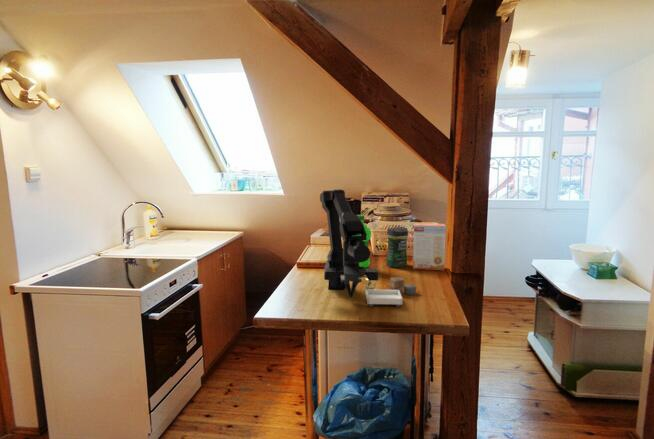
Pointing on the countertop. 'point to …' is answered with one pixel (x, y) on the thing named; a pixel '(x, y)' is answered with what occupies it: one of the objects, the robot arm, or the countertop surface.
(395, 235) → the coffee jar
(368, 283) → the small wooden cylinder
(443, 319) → the countertop surface
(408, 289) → the grey small block
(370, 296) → the white shallow tray
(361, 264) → the plastic bottle
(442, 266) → the cracker box
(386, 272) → the countertop surface
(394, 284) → the walnut block
